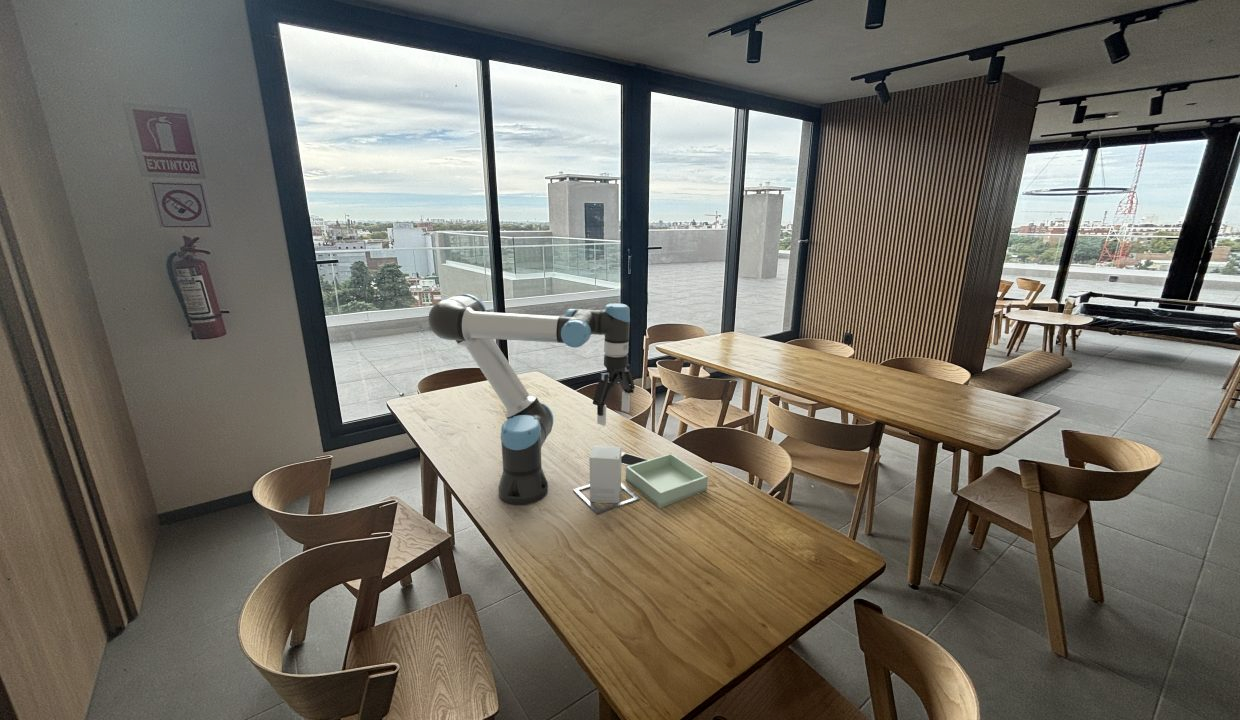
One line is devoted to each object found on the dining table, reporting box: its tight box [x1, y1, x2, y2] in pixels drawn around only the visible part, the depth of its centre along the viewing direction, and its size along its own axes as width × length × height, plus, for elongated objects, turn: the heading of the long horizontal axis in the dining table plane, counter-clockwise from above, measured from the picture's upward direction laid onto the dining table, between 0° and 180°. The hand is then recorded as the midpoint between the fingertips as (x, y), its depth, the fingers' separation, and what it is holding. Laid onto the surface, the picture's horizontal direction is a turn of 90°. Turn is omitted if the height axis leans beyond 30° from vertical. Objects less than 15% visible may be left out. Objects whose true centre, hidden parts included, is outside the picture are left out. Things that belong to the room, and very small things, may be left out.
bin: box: [625, 452, 709, 509], centre depth 158 cm, size 19×19×5 cm
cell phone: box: [621, 451, 650, 467], centre depth 173 cm, size 8×16×1 cm, turn 59°
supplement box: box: [588, 444, 622, 504], centre depth 150 cm, size 9×9×15 cm
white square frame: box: [573, 482, 640, 515], centre depth 152 cm, size 15×15×1 cm
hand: (613, 417), depth 158 cm, fingers open, 13 cm apart
